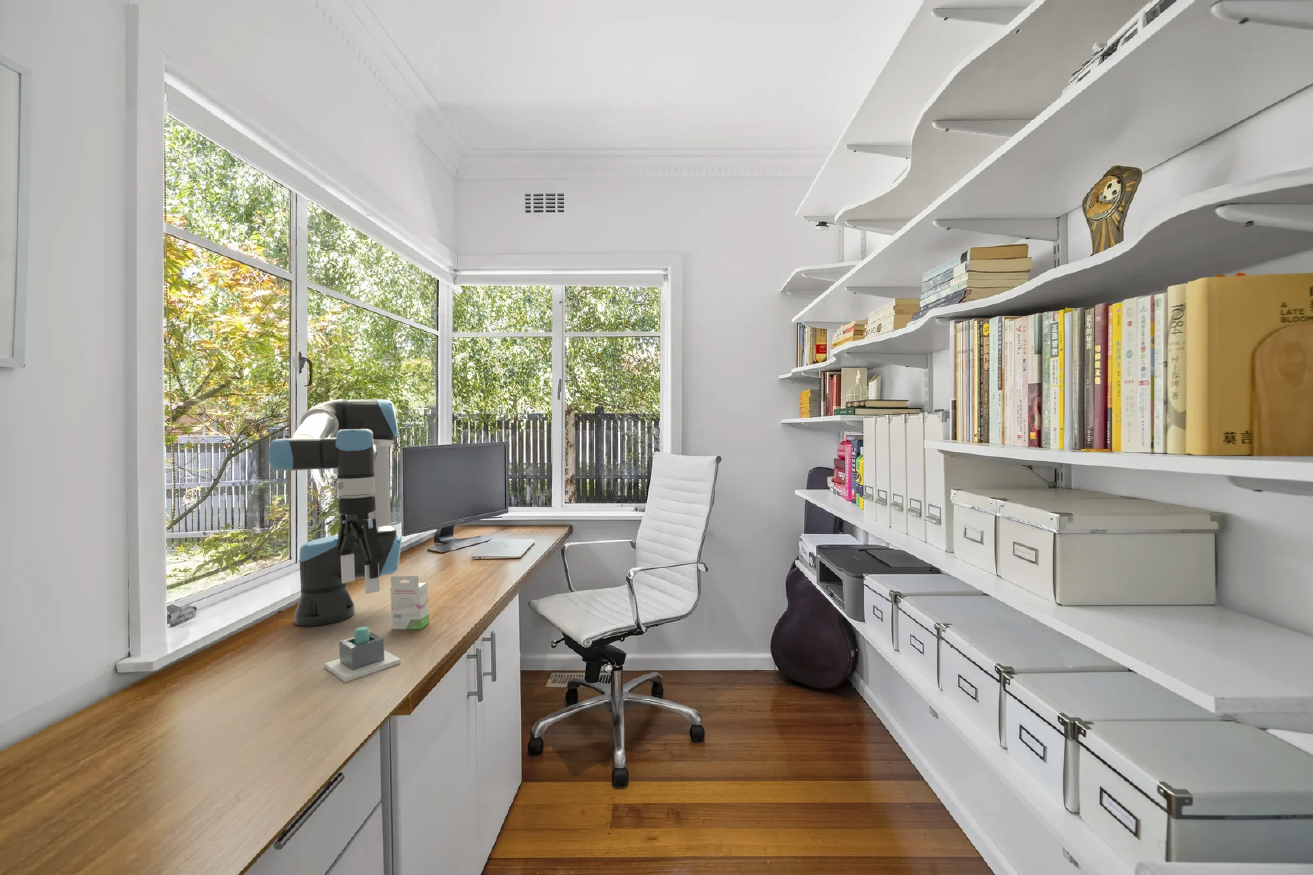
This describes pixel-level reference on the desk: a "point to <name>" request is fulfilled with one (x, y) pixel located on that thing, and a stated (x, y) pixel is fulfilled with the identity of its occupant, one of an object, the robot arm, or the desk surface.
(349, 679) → the post stand
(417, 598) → the ink box
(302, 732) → the desk surface
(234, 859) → the desk surface
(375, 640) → the collar
